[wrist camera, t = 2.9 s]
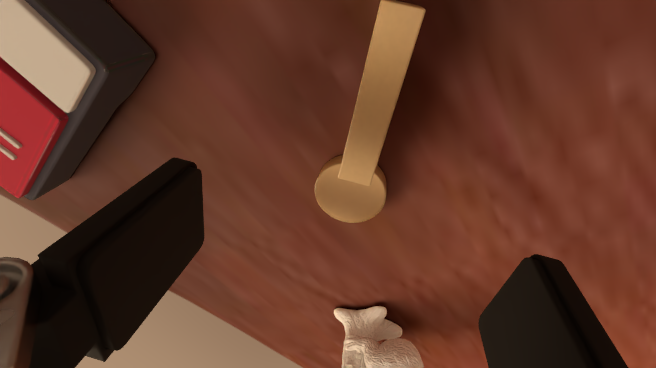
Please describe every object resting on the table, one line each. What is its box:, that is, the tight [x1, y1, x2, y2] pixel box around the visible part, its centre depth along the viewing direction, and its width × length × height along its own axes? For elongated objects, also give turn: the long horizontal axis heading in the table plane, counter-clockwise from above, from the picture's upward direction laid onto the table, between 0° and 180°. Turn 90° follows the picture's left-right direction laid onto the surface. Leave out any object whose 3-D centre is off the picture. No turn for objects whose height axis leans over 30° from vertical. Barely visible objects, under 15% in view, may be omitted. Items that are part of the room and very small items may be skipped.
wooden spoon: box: [315, 0, 426, 223], centre depth 16 cm, size 12×4×3 cm, turn 169°
